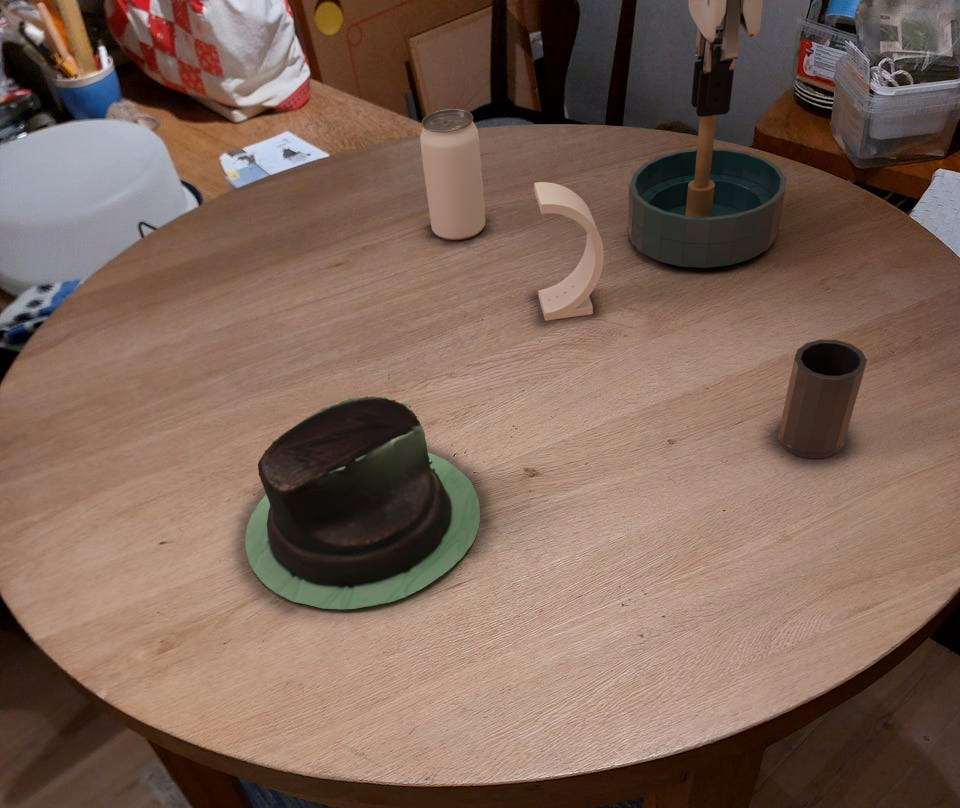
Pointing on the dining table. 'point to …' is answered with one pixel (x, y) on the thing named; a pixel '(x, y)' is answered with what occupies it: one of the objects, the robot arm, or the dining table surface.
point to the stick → (702, 171)
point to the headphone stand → (577, 287)
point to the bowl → (735, 213)
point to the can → (453, 174)
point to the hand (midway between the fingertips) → (709, 108)
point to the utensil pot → (821, 398)
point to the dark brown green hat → (358, 508)
